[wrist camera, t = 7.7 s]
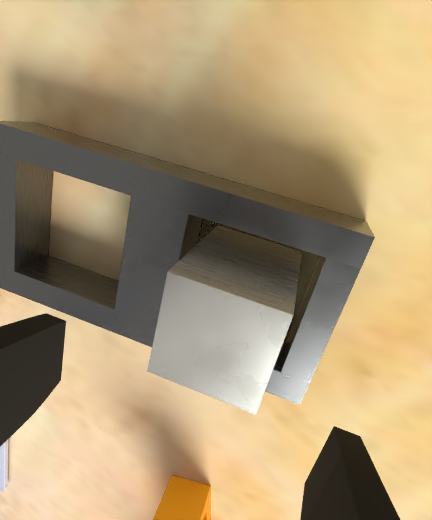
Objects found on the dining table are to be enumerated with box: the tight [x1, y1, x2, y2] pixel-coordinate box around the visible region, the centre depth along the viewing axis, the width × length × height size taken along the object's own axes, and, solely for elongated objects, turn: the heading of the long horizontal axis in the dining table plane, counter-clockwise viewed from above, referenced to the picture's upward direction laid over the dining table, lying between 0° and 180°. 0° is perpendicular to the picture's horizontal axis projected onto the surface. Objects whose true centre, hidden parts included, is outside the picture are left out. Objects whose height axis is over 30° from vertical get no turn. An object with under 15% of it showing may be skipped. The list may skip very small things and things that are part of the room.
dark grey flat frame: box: [0, 121, 375, 405], centre depth 16 cm, size 16×8×2 cm, turn 77°
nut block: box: [148, 225, 302, 415], centre depth 14 cm, size 4×4×6 cm
